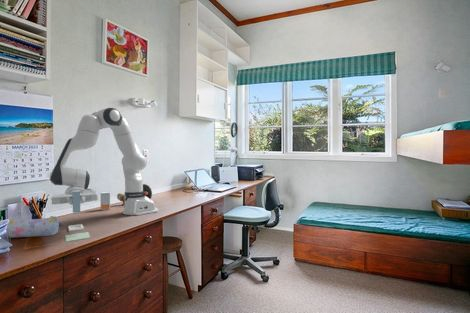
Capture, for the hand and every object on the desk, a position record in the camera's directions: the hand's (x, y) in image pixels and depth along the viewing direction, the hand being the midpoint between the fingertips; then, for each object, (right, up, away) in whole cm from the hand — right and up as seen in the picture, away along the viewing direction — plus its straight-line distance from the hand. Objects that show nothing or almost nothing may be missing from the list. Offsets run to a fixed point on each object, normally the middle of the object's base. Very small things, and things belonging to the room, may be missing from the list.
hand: (76, 200), depth 135 cm
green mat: (0, -18, +1) cm, 18 cm away
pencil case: (-23, -18, +3) cm, 29 cm away
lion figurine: (-5, -15, +76) cm, 78 cm away
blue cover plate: (0, -5, +1) cm, 6 cm away
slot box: (-8, -18, +14) cm, 24 cm away
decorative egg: (+7, -15, +80) cm, 81 cm away
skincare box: (-14, -16, +61) cm, 64 cm away
